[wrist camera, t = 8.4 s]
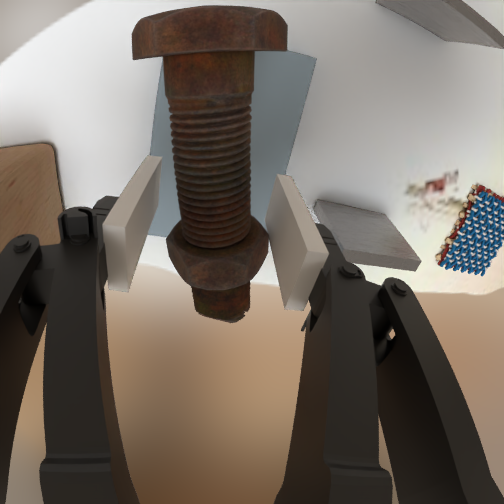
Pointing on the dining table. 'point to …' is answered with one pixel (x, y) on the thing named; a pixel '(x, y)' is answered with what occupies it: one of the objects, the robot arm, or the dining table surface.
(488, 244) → the woven mat
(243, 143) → the bolt
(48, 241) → the wooden block
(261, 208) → the slate pad
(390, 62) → the dining table surface
